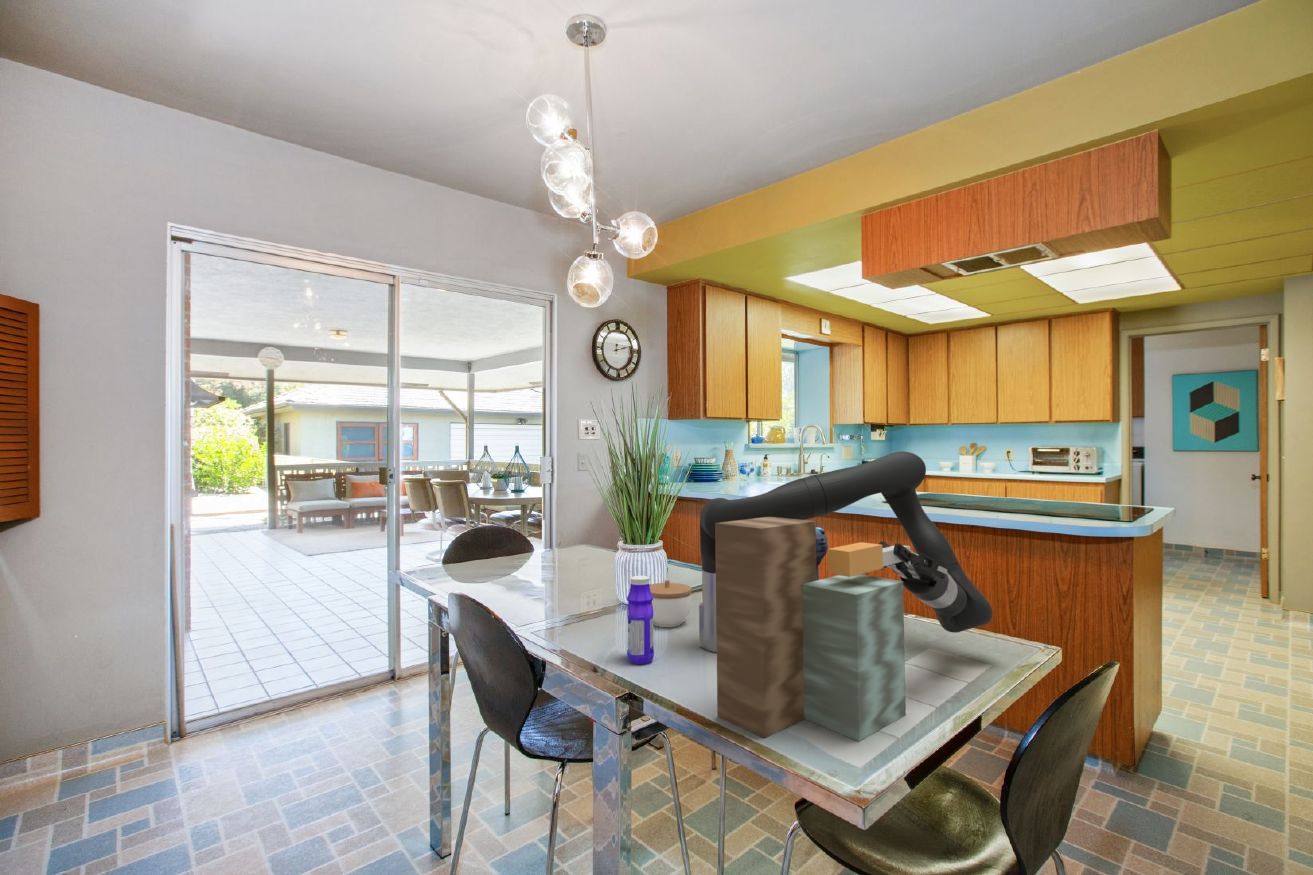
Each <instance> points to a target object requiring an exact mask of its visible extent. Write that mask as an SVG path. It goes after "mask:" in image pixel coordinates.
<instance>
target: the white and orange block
mask: <svg viewBox="0 0 1313 875" xmlns="http://www.w3.org/2000/svg"><path fill="white" fill-rule="evenodd" d="M902 545H903V544H902ZM889 546H890V547H886V548H882V545H881V544H879V543H871V542H864V541H861V542H860V541H859V542H856V543H851V544H850V543H849V544H846V545H841V546H835V547H832V548H831V547H830V548H828V549H827V571H828V572H827V573H828V574H831V575H834V576H837V575H841V576H846V577H852V576H856V575H860V574H862V575H864V574H867V573H871V572H874V571H879V570H880V569H882V568H883V566H887V565H891V564H895V563H899V562H902V561H901V560H900V559H899V558H898V557H897V556H895V555H894V553H893V552H894V546H895V544H894V545H889ZM903 546H904V547H905V548H907V549H908V550H911V545H903Z"/></svg>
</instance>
